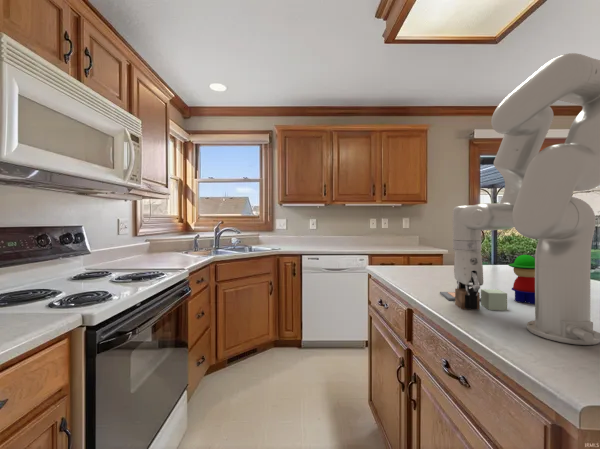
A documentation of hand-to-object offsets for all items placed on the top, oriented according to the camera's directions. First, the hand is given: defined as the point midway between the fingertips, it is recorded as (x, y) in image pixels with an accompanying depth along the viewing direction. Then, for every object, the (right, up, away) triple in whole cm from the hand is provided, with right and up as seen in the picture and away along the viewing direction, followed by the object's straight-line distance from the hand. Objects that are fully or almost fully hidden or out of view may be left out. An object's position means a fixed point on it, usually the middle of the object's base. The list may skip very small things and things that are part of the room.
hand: (467, 305), depth 91 cm
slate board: (+3, 0, +11) cm, 11 cm away
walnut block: (0, -1, 0) cm, 1 cm away
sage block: (+7, -1, -1) cm, 8 cm away
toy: (+22, 0, +5) cm, 22 cm away
